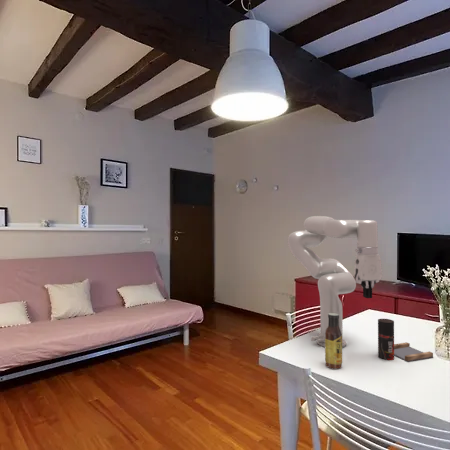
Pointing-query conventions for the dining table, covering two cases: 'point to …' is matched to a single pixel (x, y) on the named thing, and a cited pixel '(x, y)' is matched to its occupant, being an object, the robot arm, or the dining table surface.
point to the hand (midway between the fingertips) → (367, 297)
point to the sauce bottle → (333, 342)
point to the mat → (406, 352)
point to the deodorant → (386, 339)
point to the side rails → (413, 356)
